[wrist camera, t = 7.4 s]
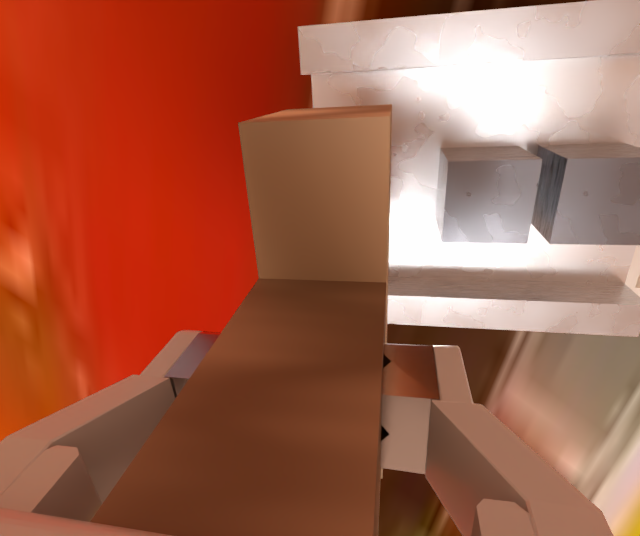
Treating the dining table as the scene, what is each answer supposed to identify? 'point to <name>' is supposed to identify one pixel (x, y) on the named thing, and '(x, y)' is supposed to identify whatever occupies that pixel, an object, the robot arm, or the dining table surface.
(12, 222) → the dining table surface
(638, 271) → the tray
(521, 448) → the robot arm
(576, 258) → the channel
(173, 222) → the dining table surface
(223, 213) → the dining table surface
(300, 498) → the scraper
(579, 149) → the chip
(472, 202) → the chip
